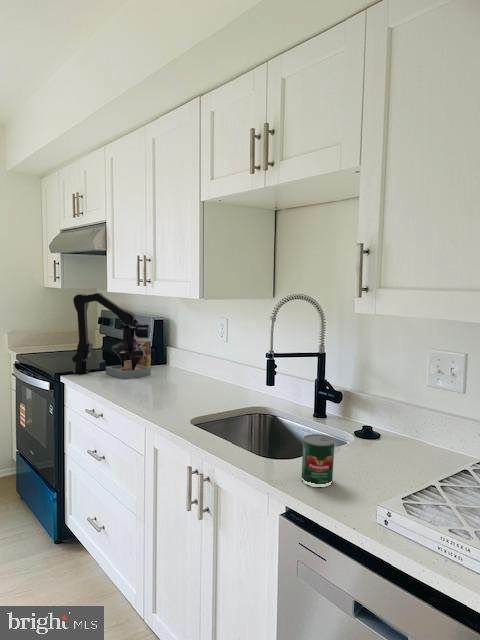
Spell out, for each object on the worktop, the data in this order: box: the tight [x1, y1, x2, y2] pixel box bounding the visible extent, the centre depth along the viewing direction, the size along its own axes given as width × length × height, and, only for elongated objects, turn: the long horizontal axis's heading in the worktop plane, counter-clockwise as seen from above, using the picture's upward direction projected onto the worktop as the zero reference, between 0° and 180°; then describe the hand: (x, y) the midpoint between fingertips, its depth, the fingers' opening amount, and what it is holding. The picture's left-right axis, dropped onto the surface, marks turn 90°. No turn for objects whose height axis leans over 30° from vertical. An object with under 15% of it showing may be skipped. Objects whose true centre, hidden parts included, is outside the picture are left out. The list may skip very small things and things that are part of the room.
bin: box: [105, 364, 152, 380], centre depth 239 cm, size 16×16×4 cm
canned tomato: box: [301, 433, 336, 484], centre depth 120 cm, size 8×8×11 cm
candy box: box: [134, 339, 152, 368], centre depth 256 cm, size 9×4×15 cm, turn 99°
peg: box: [124, 359, 132, 371], centre depth 239 cm, size 4×4×7 cm
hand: (128, 368), depth 239 cm, fingers open, 9 cm apart
